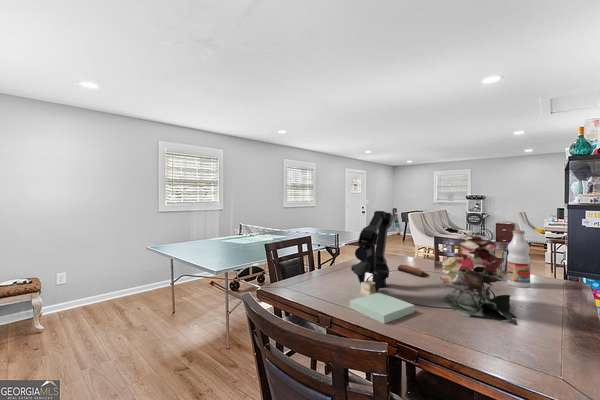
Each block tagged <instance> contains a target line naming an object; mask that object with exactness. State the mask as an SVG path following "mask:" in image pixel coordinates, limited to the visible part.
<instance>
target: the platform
mask: <svg viewBox="0 0 600 400" xmlns="http://www.w3.org/2000/svg"><path fill="white" fill-rule="evenodd" d="M349 309H351V310H353V311H356V312H358V313H361V314H362V315H364V316H366V317H368V316H369V318H371V319H373V320H375V321H377V322H379V323H381V324H386V323H390V322H393V321H395V320H397V319H400V318H403V317H405V316H408V315H411V314H414V313H415V305H414V304H413V303H409V302H407V301H404V300H402V299H399V298H396V297H393V296H390V295H388V294H385V293H382V292H378V293H375V294H372V295H368V296H365V295H363V296H361V297H357V298H354V299H351V300H349Z"/></svg>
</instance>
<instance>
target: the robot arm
mask: <svg viewBox="0 0 600 400" xmlns="http://www.w3.org/2000/svg"><path fill="white" fill-rule="evenodd" d="M393 222H394V215H393V214H392V213H391V212H386V211H384V210H374V212H373V217H372V219H371V220H370V221H369V223H368V225H367V226H365V227H364V228H363V229H362V230H361V231H360V233H359V238H358V240H357V246H358V248H356V249H355V251H354V256H355V258H356V259H357V260H359V261H360V262H357V263H356V264H352V265H351V268H350V269H351V271H352V272H353V274H355V275H356V277H357V279H358V282H359V284H360V286H361V282H365V278H366V274H367V273H368V274H371V275H372V282H375V291H376V292H378V291H379V289H381V288H384V287H388V286H389V284H387V278H389V275H390V269H389V266H388V261H387V259H386V257H385V252H386V246H387V245H386V244H387V237H388V231H389V229H390V228H391V226H392V223H393ZM378 293H379V292H378Z"/></svg>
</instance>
